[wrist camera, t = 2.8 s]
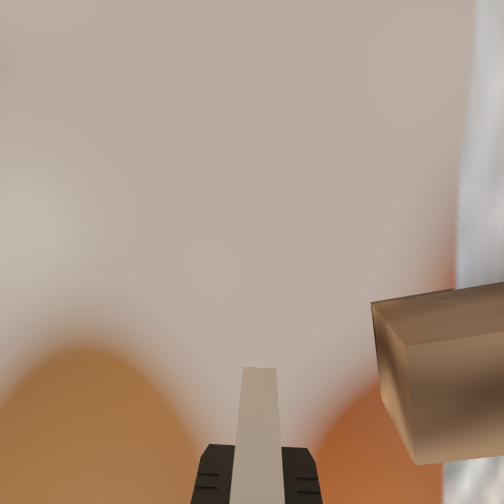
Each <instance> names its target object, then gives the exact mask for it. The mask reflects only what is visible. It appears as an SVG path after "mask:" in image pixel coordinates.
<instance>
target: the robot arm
mask: <svg viewBox="0 0 504 504" xmlns="http://www.w3.org/2000/svg"><path fill="white" fill-rule="evenodd" d="M277 393H278V392H277V379H276V369H274V368H273V369H271V368H250V367H243V375H242V385H241V394H240V404H239V414H238V424H237V434H236V444H235V445H218V444H209V446H208V447H207V448H206V450H205V451H204V453H203V455H202V456H201V458H200V463H199V468H198V472H197V477H196V481H195V486H194V491H193V495H192V500H191V504H323V502H322V497H321V491H320V486H319V482H318V475H317V469H316V464H315V461H314V459H313V458H312V456H311V454H310V453H309V451H308V449H307V448H294V447H293V448H292V447H281V437H280V423H279V409H278V408H279V407H278V394H277Z"/></svg>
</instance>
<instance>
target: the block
mask: <svg viewBox="0 0 504 504" xmlns="http://www.w3.org/2000/svg"><path fill="white" fill-rule="evenodd" d="M371 312H372V321H373V330H374V338H375V347H376V356H377V365H378V374H379V383H380V392H381V399H382V401H383V403H384V405H385V407H386V409H387V411H388V413H389V415H390V416H391V419H392V420H393V422H394V424H395V426H396V428H397V430H398V432H399V434H400V436H401V438H402V440H403V442H404V444H405V446H406V448H407V450H408V452H409V454H410V455H411V458H412V460H413V462H414V463H415V465H424V464H433V463H441V462H450V461H458V460H467V459H475V458H484V457H493V456H501V455H504V282H500V283H494V284H488V285H482V286H477V287H471V288H465V289H459V290H456V288H451V289H446V290H440V291H434V292H429V293H422V294H416V295H410V296H405V297H398V298H392V299H386V300H381V301H375V302H371Z"/></svg>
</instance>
